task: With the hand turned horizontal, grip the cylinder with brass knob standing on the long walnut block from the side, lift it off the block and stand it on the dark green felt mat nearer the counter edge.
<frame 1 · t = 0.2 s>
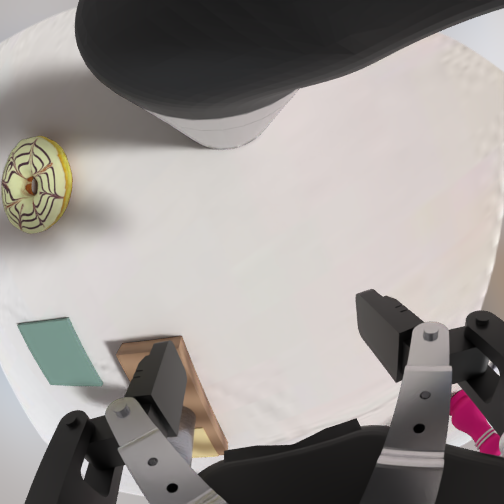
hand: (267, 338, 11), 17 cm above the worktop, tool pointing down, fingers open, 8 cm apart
plane body: (180, 402, 34), on the worktop
cylinder with brass knob: (177, 415, 32), point 2 cm above the worktop, touching plane body
pepper mill: (456, 399, 41), on the worktop
felt mat: (58, 354, 31), on the worktop
decorated donut: (43, 183, 25), on the worktop
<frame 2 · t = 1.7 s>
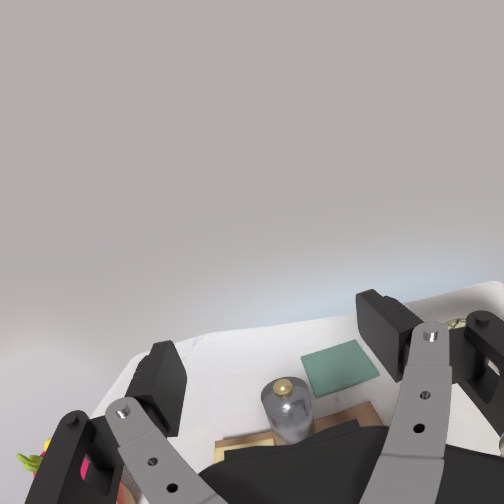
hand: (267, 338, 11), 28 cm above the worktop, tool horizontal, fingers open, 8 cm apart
plane body: (301, 456, 29), on the worktop
cylinder with brass knob: (299, 447, 29), point 2 cm above the worktop, touching plane body
felt mat: (338, 367, 45), on the worktop
decorated donut: (461, 347, 38), on the worktop
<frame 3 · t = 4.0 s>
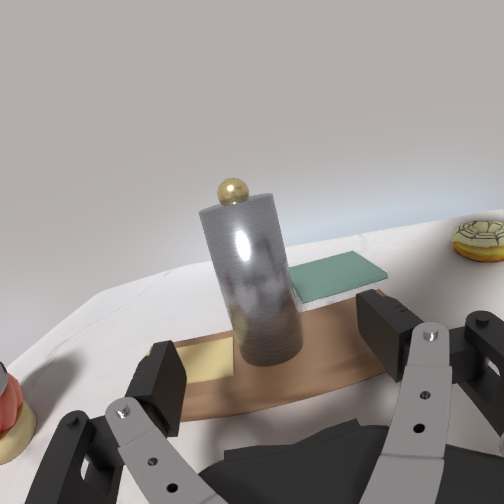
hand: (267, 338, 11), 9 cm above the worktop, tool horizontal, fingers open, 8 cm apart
plane body: (278, 370, 21), on the worktop
cylinder with brass knob: (271, 346, 21), point 2 cm above the worktop, touching plane body
cake: (6, 435, 15), on the worktop
felt mat: (332, 275, 37), on the worktop
decorated donut: (485, 253, 30), on the worktop
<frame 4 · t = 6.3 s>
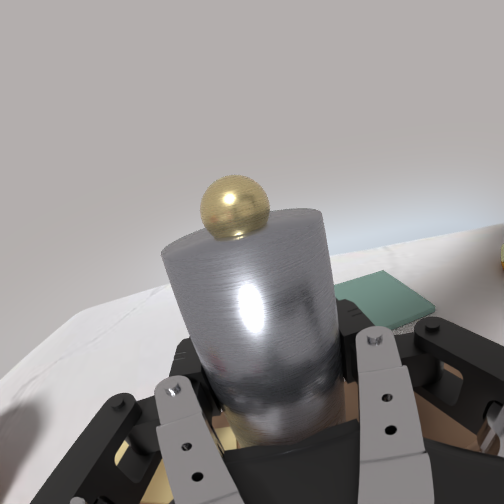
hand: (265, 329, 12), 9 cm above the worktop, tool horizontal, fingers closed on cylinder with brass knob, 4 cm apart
plane body: (303, 470, 12), on the worktop
cylinder with brass knob: (297, 450, 11), point 2 cm above the worktop, touching gripper, plane body
felt mat: (362, 305, 27), on the worktop
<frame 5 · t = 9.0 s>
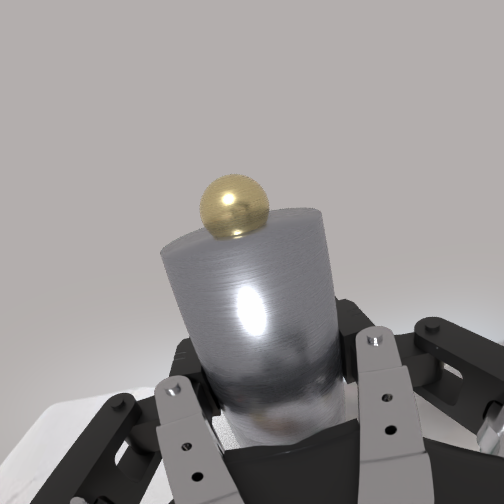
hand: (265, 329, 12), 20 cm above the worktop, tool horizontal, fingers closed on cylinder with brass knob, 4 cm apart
cylinder with brass knob: (297, 449, 11), point 14 cm above the worktop, touching gripper
when the fingers open (8 cm above the worktop, at t = 12.0 s): cylinder with brass knob drops 1 cm, resting on felt mat.
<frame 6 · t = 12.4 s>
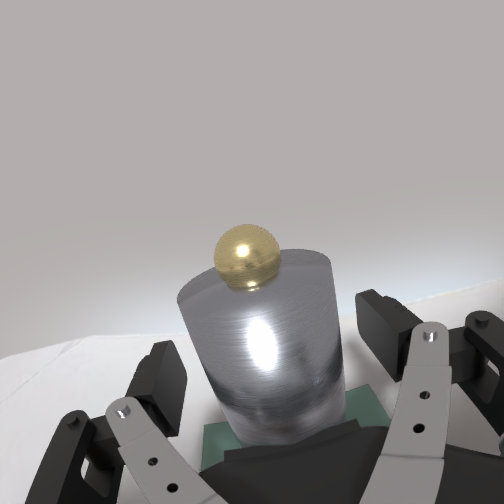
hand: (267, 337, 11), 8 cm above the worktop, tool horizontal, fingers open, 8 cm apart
cylinder with brass knob: (302, 463, 12), point 1 cm above the worktop, touching felt mat
felt mat: (305, 482, 11), on the worktop
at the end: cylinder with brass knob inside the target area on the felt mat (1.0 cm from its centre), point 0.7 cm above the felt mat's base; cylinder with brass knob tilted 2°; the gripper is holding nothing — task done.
